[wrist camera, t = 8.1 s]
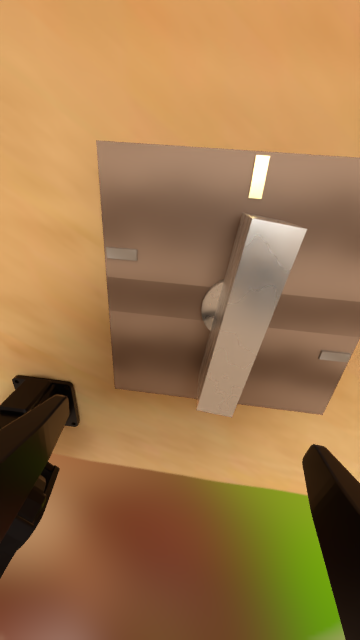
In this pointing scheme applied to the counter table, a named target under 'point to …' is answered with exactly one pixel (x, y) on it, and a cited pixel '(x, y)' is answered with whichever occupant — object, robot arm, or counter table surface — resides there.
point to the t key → (243, 308)
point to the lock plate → (212, 262)
